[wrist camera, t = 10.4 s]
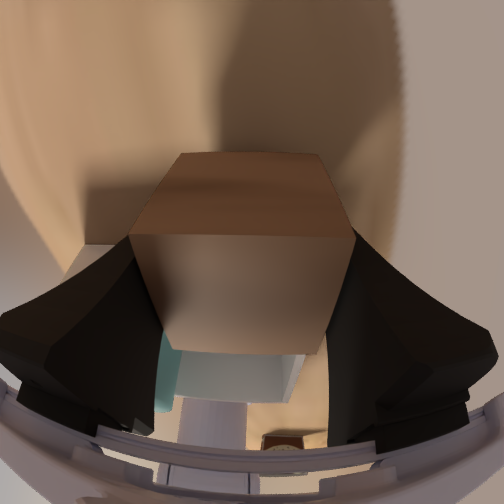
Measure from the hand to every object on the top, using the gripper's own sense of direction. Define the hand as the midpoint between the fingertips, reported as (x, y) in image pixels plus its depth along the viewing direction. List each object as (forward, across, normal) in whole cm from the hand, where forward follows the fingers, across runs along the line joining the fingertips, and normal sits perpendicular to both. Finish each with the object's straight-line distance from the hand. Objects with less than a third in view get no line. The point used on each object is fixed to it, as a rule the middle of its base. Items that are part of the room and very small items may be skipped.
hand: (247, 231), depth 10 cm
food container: (+4, -6, +60) cm, 60 cm away
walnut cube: (+2, 0, 0) cm, 2 cm away
